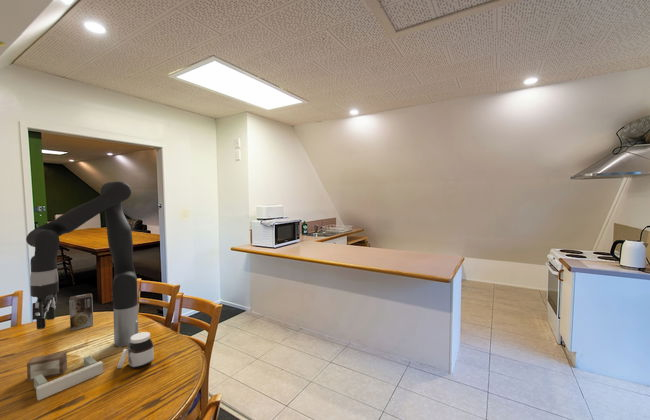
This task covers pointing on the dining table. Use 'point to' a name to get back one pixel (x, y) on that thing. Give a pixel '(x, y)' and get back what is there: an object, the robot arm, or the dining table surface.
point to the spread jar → (138, 351)
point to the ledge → (67, 379)
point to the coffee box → (81, 311)
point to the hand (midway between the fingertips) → (46, 323)
